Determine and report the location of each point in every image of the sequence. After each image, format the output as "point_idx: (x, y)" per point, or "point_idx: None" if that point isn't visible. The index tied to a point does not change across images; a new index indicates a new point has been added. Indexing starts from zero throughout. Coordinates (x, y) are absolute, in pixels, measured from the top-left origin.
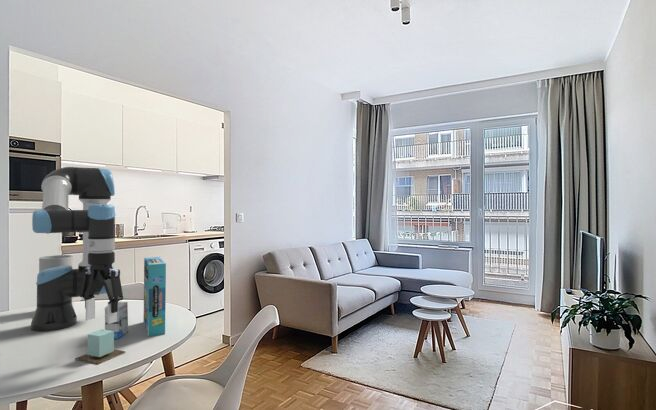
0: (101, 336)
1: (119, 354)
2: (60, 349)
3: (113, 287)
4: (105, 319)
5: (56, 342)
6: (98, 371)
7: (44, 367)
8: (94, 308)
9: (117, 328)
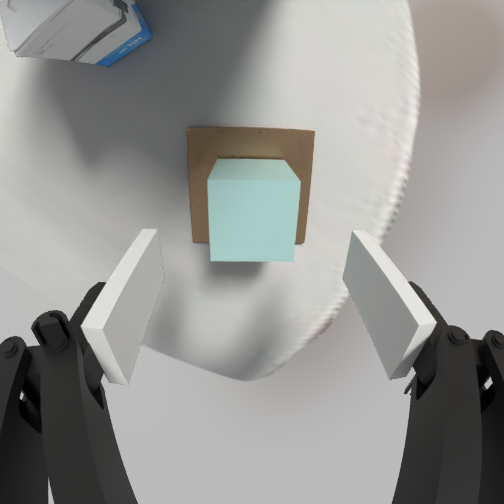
0: (293, 249)
1: (312, 158)
2: (67, 202)
3: (486, 473)
4: (61, 57)
5: (11, 173)
6: (342, 271)
7: (171, 301)
8: (135, 270)
9: (133, 27)
